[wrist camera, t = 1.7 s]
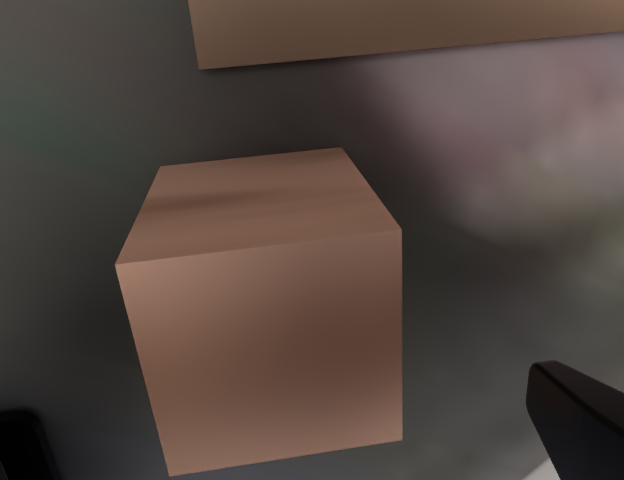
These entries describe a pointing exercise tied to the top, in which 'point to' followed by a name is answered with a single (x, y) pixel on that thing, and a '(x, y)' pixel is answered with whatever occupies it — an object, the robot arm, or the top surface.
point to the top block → (266, 309)
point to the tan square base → (380, 26)
